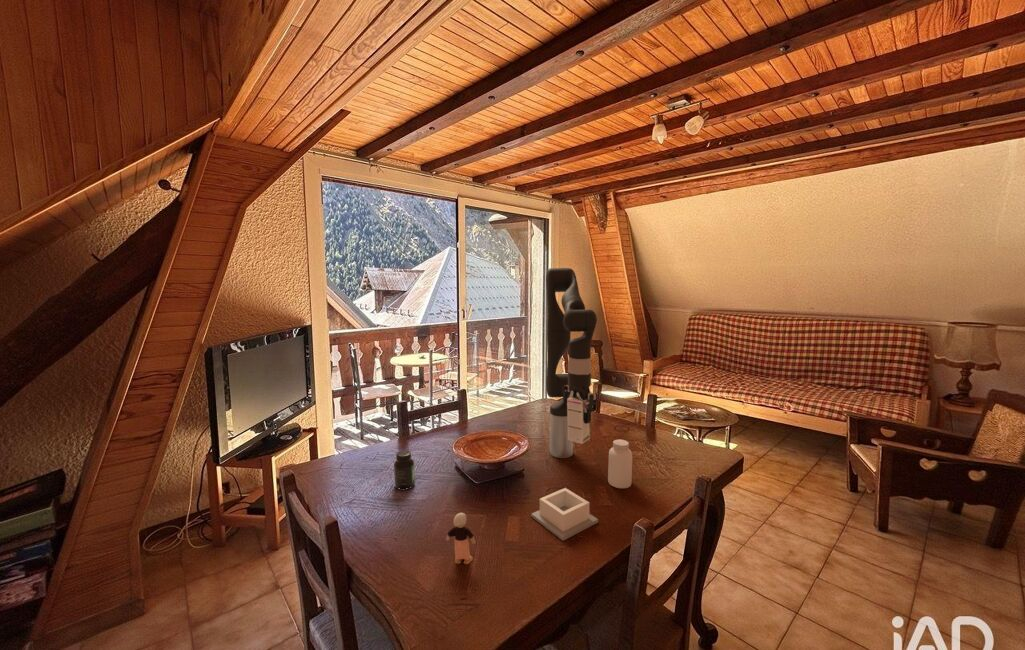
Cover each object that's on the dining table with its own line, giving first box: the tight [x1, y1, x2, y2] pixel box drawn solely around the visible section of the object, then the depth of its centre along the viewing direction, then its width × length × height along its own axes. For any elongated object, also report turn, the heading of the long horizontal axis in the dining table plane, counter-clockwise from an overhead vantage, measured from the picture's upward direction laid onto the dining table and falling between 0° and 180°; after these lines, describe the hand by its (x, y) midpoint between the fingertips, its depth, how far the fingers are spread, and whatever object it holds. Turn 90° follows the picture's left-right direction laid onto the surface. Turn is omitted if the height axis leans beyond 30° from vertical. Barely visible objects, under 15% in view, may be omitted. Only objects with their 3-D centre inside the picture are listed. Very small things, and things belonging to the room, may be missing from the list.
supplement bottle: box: [393, 449, 416, 489], centre depth 140 cm, size 7×7×12 cm
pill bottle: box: [607, 439, 633, 489], centre depth 140 cm, size 8×8×15 cm
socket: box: [530, 487, 599, 542], centre depth 120 cm, size 14×14×6 cm
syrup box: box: [567, 397, 592, 445], centre depth 133 cm, size 6×6×14 cm
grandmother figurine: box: [445, 512, 477, 565], centre depth 103 cm, size 8×4×13 cm, turn 92°
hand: (579, 419), depth 133 cm, fingers closed on syrup box, 6 cm apart
